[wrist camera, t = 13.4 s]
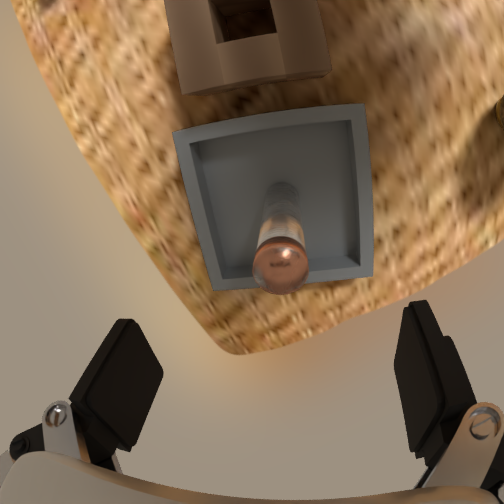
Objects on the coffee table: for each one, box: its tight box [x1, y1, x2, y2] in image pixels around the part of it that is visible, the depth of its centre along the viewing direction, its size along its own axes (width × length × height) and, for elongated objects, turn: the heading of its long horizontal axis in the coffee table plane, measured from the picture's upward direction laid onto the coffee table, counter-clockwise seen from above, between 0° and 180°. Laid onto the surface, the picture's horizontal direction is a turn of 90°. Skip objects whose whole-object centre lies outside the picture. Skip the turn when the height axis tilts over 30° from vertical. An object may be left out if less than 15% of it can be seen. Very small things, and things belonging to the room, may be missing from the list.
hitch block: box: [164, 0, 332, 96], centre depth 18 cm, size 10×10×6 cm
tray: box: [172, 103, 374, 291], centre depth 26 cm, size 15×15×3 cm
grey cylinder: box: [252, 182, 309, 295], centre depth 21 cm, size 3×3×12 cm
